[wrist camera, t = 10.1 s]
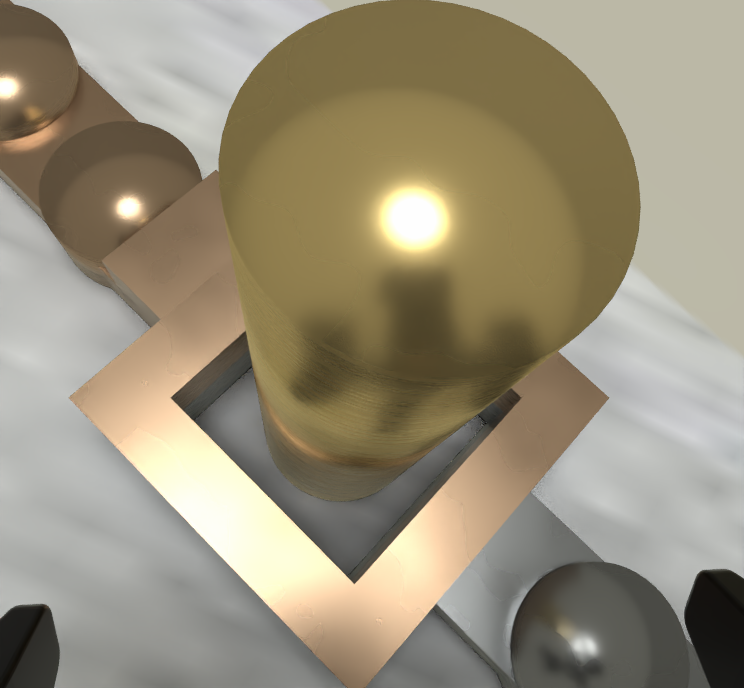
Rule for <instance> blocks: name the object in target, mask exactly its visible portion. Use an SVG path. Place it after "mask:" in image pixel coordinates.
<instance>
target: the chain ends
mask: <svg viewBox="0 0 744 688" xmlns="http://www.w3.org/2000/svg"><path fill="white" fill-rule="evenodd" d="M0 177H1V178H2V179H3V180H4V181H5V182H6V183H7V184H8V185H9V186H10V187H11V188H12V189H13V190H14V191H15V192H16V193H17V194H18V195H19V196H20V197H21V198H22V199H23V200H24V201H25V202H26V203H27V204H28V205H29V206H30V207H31V208H32V209H33V210H34V211H35V212H36V213H37V214H38V215H39V216H40V217H41V218H42V219H43V220H44V221H45V222H46V223H47V225H48V227H49V228H50V230H51V231H52V233H53V234H54V235H55V237H56V238H57V240H58V241H59V242H60V244H61V245H62V246H63V248H64V249H65V251H66V252H67V253H68V255H69V256H70V258H71V259H72V260H73V262H74V263H75V264H76V266H77V267H78V268H79V269H80V270H81V271H82V272H83V273H84V274H85V275H87V276H88V277H89V278H91V279H92V280H94V281H95V282H97V283H99V284H101V285H104V286H106V287H109V288H112V289H113V290H114V291H115V292H116V293H117V294H118V295H119V296H120V297H121V298H122V299H123V300H124V301H125V302H126V303H127V304H128V305H129V306H130V307H131V308H132V309H133V310H134V311H135V312H136V313H137V314H138V315H139V316H140V317H141V318H142V319H143V320H144V321H145V322H146V323H147V324H148V325H149V326H150V327H151V328H150V329H149V330H148V331H147V332H145V333H144V334H143V335H142V336H141V337H140V338H138V339H137V340H136V341H135V342H134V343H133V344H131V345H130V346H129V347H128V348H127V349H125V350H124V351H123V352H122V353H121V354H120V355H118V356H117V357H116V358H115V359H114V360H112V361H111V362H110V363H109V364H108V365H107V366H105V367H104V368H103V369H102V370H101V371H100V372H98V373H97V374H96V375H95V376H94V377H92V378H91V379H90V380H89V381H88V382H87V383H85V384H84V385H83V386H82V387H81V388H79V389H78V390H77V391H76V392H75V393H74V394H72V395H71V396H70V397H69V399H70V400H71V401H72V402H73V403H74V404H75V405H76V406H77V407H78V408H79V409H80V410H81V411H82V412H83V413H84V414H85V415H86V416H87V417H88V418H89V419H90V420H91V422H92V423H93V424H94V425H95V426H96V427H97V428H98V429H99V430H100V431H101V432H102V433H103V434H104V435H105V436H106V437H107V438H108V439H109V440H110V441H111V442H112V443H113V444H114V445H115V447H116V448H117V449H118V450H119V451H120V452H121V453H122V454H123V455H124V456H125V457H126V458H127V459H128V460H129V461H130V462H131V463H132V464H133V465H134V466H135V467H136V468H137V469H138V470H139V472H140V473H141V474H142V475H143V476H144V477H145V478H146V479H147V480H148V481H149V482H150V483H151V484H152V485H153V486H154V487H155V488H156V489H157V490H158V491H159V492H160V493H161V494H162V495H163V497H164V498H165V499H166V500H167V501H168V502H169V503H170V504H171V505H172V506H173V507H174V508H175V509H176V510H177V511H178V512H179V513H180V514H181V515H182V516H183V517H184V518H185V519H186V521H187V522H188V523H189V524H190V525H191V526H192V527H193V528H194V529H195V530H196V531H197V532H198V533H199V534H200V535H201V536H202V537H203V538H204V539H205V540H206V541H207V542H208V543H209V544H210V546H211V547H212V548H213V549H214V550H215V551H216V552H217V553H218V554H219V555H220V556H221V557H222V558H223V559H224V560H225V561H226V562H227V563H228V564H229V565H230V566H231V567H232V568H233V569H234V571H235V572H236V573H237V574H238V575H239V576H240V577H241V578H242V579H243V580H244V581H245V582H246V583H247V584H248V585H249V586H250V587H251V588H252V589H253V590H254V591H255V592H256V593H257V594H258V596H259V597H260V598H261V599H262V600H263V601H264V602H265V603H266V604H267V605H268V606H269V607H270V608H271V609H272V610H273V611H274V612H275V613H276V614H277V615H278V616H279V617H280V618H281V619H282V621H283V622H284V623H285V624H286V625H287V626H288V627H289V628H290V629H291V630H292V631H293V632H294V633H295V634H296V635H297V636H298V637H299V638H300V639H301V640H302V641H303V642H304V643H305V644H306V646H307V647H308V648H309V649H310V650H311V651H312V652H313V653H314V654H315V655H316V656H317V657H318V658H319V659H320V660H321V661H322V662H323V663H324V664H325V665H326V666H327V667H328V668H329V670H330V671H331V672H332V673H333V674H334V675H335V676H336V677H337V678H338V679H339V680H340V681H341V682H342V683H343V684H344V685H345V686H346V687H347V688H365V687H366V686H367V685H368V684H369V682H370V681H371V680H372V679H373V678H374V677H375V675H376V674H377V673H378V672H379V671H380V669H381V668H382V667H383V666H384V665H385V663H386V662H387V661H388V660H389V659H390V658H391V656H392V655H393V654H394V653H395V652H396V650H397V649H398V648H399V647H400V646H401V644H402V643H403V642H404V641H405V640H406V639H407V637H408V636H409V635H410V634H411V633H412V631H413V630H414V629H415V628H416V627H417V626H418V624H419V623H420V622H421V621H422V620H423V618H424V617H425V616H426V615H427V614H428V612H429V611H430V610H431V609H433V610H434V611H435V612H436V613H437V614H438V615H439V616H440V617H441V618H442V619H443V620H444V621H445V622H446V623H447V624H448V625H449V626H450V627H451V628H452V629H453V630H454V631H455V632H456V633H457V634H458V635H459V636H460V637H461V638H463V639H464V640H465V641H466V642H467V643H468V644H469V645H470V646H471V647H472V648H473V649H474V650H475V651H476V652H477V653H478V654H479V655H480V656H481V657H482V658H483V659H484V660H485V661H486V662H487V663H488V664H489V665H490V666H491V667H492V668H493V669H494V670H495V671H496V672H497V674H498V677H499V679H500V682H501V684H502V686H503V688H710V686H709V684H708V681H707V679H706V676H705V673H704V671H703V668H702V666H701V663H700V661H699V658H698V656H697V653H696V651H695V648H694V646H693V645H692V644H691V643H690V642H689V641H688V640H686V638H685V635H684V632H683V629H682V626H681V624H680V622H679V620H678V617H677V615H676V614H675V612H674V610H673V609H672V607H671V605H670V604H669V603H668V601H667V600H666V599H665V597H664V596H663V595H662V594H661V593H660V592H659V590H658V589H657V588H656V587H655V586H654V585H652V584H651V583H650V582H649V581H648V580H646V579H645V578H643V577H642V576H640V575H639V574H637V573H636V572H634V571H632V570H630V569H627V568H625V567H622V566H619V565H616V564H612V563H606V562H604V561H603V560H602V559H601V558H600V557H599V556H598V555H597V554H595V553H594V552H593V551H592V550H591V549H590V548H589V547H588V546H587V545H586V544H585V543H584V542H583V541H582V540H581V539H580V538H579V537H577V536H576V535H575V534H574V533H573V532H572V531H571V530H570V529H569V528H568V527H567V526H566V525H565V524H564V523H563V522H562V521H561V520H559V519H558V518H557V517H556V516H555V515H554V514H553V513H552V512H551V511H550V510H549V509H548V508H547V507H546V506H545V505H544V504H543V503H541V502H540V501H539V500H538V499H537V498H536V497H535V496H534V495H533V494H532V493H531V492H530V491H531V490H532V489H533V488H534V487H535V486H536V484H537V483H538V482H539V481H540V480H541V478H542V477H543V476H544V475H545V474H546V472H547V471H548V470H549V469H550V468H551V467H552V465H553V464H554V463H555V462H556V461H557V459H558V458H559V457H560V456H561V455H562V453H563V452H564V451H565V450H566V449H567V448H568V446H569V445H570V444H571V443H572V442H573V440H574V439H575V438H576V437H577V436H578V434H579V433H580V432H581V431H582V430H583V429H584V427H585V426H586V425H587V424H588V423H589V421H590V420H591V419H592V418H593V417H594V415H595V414H596V413H597V412H598V411H599V410H600V408H601V407H602V406H603V405H604V404H605V402H606V401H607V400H608V399H609V397H608V396H607V395H606V394H604V393H603V392H602V391H601V390H600V389H599V388H598V387H597V386H596V385H594V384H593V383H592V382H591V381H590V380H589V379H588V378H587V377H586V376H585V375H583V374H582V373H581V372H580V371H579V370H578V369H577V368H576V367H575V366H573V365H572V364H571V363H570V362H569V361H568V360H567V359H566V358H565V357H563V356H562V355H561V354H560V353H559V352H558V351H557V352H556V353H555V354H554V355H552V356H551V357H550V358H548V359H547V360H546V361H545V362H543V363H542V364H541V365H540V366H538V367H537V368H536V369H534V370H533V371H532V372H531V373H529V374H528V375H527V376H526V377H524V378H523V379H522V380H520V381H519V382H518V383H517V384H515V385H514V386H513V387H512V388H510V389H509V390H508V391H506V392H505V393H504V394H503V395H501V396H500V397H499V398H498V399H496V400H495V401H494V402H493V403H491V404H490V405H489V406H487V407H486V408H485V409H484V410H482V411H481V412H480V413H479V414H478V415H479V416H480V417H481V418H482V419H483V420H484V421H485V422H486V424H485V425H484V426H483V427H482V428H481V430H480V431H479V432H478V433H477V434H476V435H475V436H474V437H473V438H472V440H471V441H470V442H469V443H468V444H467V445H466V446H465V447H464V448H463V449H462V451H461V452H460V453H459V454H458V455H457V456H456V457H455V458H454V459H453V461H452V462H451V463H450V464H449V465H448V466H447V467H446V468H445V469H444V470H443V472H442V473H441V474H440V475H439V476H438V477H437V478H436V479H435V480H434V482H433V483H432V484H431V485H430V486H429V487H428V488H427V489H426V490H425V491H424V493H423V494H422V495H421V496H420V497H419V498H418V499H417V500H416V501H415V503H414V504H413V505H412V506H411V507H410V508H409V509H408V510H407V511H406V512H405V514H404V515H403V516H402V517H401V518H400V519H399V520H398V521H397V522H396V524H395V525H394V526H393V527H392V528H391V529H390V530H389V531H388V532H387V533H386V535H385V536H384V537H383V538H382V539H381V540H380V541H379V542H378V543H377V545H376V546H375V547H374V548H373V549H372V550H371V551H370V552H369V553H368V554H367V556H366V557H365V558H364V559H363V560H362V561H361V562H360V563H359V564H358V566H357V567H356V568H355V569H354V570H353V571H352V572H351V573H350V574H349V575H348V577H347V576H346V575H345V574H344V573H343V572H342V571H341V570H340V569H339V568H338V567H337V566H336V565H335V564H334V563H333V562H332V561H331V560H330V559H329V558H328V557H327V556H326V555H325V554H324V553H323V552H322V551H321V550H320V549H319V548H318V547H317V546H316V545H315V544H314V543H313V542H312V541H311V540H310V539H309V538H308V537H307V536H306V535H305V534H304V533H303V532H302V531H301V530H300V529H299V528H298V527H297V526H296V525H295V523H294V522H293V521H292V520H291V519H290V518H289V517H288V516H287V515H286V514H285V513H284V512H283V511H282V510H281V509H280V508H279V507H278V506H277V505H276V504H275V503H274V502H273V501H272V500H271V499H270V498H269V497H268V496H267V495H266V494H265V493H264V492H263V491H262V490H261V489H260V488H259V487H258V486H257V485H256V484H255V483H254V482H253V481H252V480H251V479H250V478H249V477H248V476H247V475H246V474H245V473H244V472H243V471H242V470H241V469H240V468H239V467H238V466H237V465H236V464H235V463H234V462H233V461H232V460H231V459H230V458H229V457H228V456H227V455H226V454H225V453H224V452H223V451H222V450H221V449H220V448H219V447H218V446H217V445H216V443H215V442H214V441H213V440H212V439H211V438H210V437H209V436H208V435H207V434H206V433H205V432H204V431H203V430H202V429H201V428H200V427H199V426H198V425H197V424H196V423H195V422H194V421H193V420H194V419H195V418H196V417H197V416H198V415H200V414H201V413H202V412H203V411H204V410H205V409H206V408H207V407H208V406H209V405H210V404H212V403H213V402H214V401H215V400H216V399H217V398H218V397H219V396H220V395H221V394H222V393H223V392H225V391H226V390H227V389H228V388H229V387H230V386H231V385H232V384H233V383H234V382H235V381H236V380H238V379H239V378H240V377H241V376H242V375H243V374H244V373H245V372H246V371H247V370H248V369H250V368H251V367H252V361H251V356H250V351H249V345H248V340H247V335H246V330H245V324H244V319H243V314H242V308H241V303H240V298H239V293H238V287H237V282H236V277H235V271H234V266H233V261H232V256H231V250H230V245H229V240H228V234H227V229H226V224H225V219H224V213H223V207H222V201H221V195H220V189H219V172H218V171H217V170H215V171H214V172H213V173H211V174H210V175H209V176H208V177H206V178H205V179H204V180H203V181H202V177H201V173H200V170H199V167H198V164H197V162H196V160H195V158H194V157H193V155H192V154H191V152H190V151H189V150H188V148H187V147H186V146H185V145H184V144H183V143H182V142H181V141H179V140H178V139H177V138H176V137H175V136H173V135H171V134H170V133H168V132H167V131H164V130H162V129H160V128H158V127H155V126H152V125H149V124H145V123H140V122H138V121H137V120H136V119H135V118H134V117H133V116H132V115H131V114H130V113H129V112H128V111H127V110H125V109H124V108H123V107H122V106H121V105H120V104H119V103H118V102H117V101H116V100H115V99H114V98H113V97H112V96H111V95H110V94H109V93H107V92H106V91H105V90H104V89H103V88H102V87H101V86H100V85H99V84H98V83H97V82H96V81H95V80H94V79H93V78H92V77H91V76H89V75H88V74H87V73H86V72H85V71H84V70H83V69H82V68H81V67H80V66H79V64H78V62H77V60H76V57H75V55H74V53H73V50H72V48H71V45H70V43H69V41H68V39H67V37H66V36H65V34H64V33H63V31H62V30H61V29H60V28H59V27H58V26H57V25H56V24H55V23H54V22H53V21H51V20H50V19H49V18H47V17H46V16H44V15H42V14H41V13H39V12H36V11H34V10H32V9H29V8H26V7H22V6H18V5H14V4H13V3H12V2H11V1H10V0H0Z"/></svg>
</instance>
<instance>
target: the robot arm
mask: <svg viewBox="0 0 744 688" xmlns="http://www.w3.org/2000/svg"><path fill="white" fill-rule="evenodd" d="M684 619H685V624H686V628H687V631H688V633H689V636H690V638H691V641H692V643H693V646H694V648H695V651H696V653H697V656H698V658H699V661H700V663H701V666H702V668H703V671H704V673H705V676H706V679H707V681H708V684H709V686H710V688H744V578H742V577H741V576H739V575H738V574H736V573H734V572H733V571H731V570H727V569H712V570H703V571H701V572H699V573H698V574H697V576H696V578H695V581H694V584H693V587H692V590H691V593H690V595H689V598H688V601H687V604H686V607H685V612H684ZM59 659H60V649H59V643H58V639H57V634H56V630H55V625H54V621H53V617H52V612H51V610H50V608H49V606H47V605H45V604H32V605H18V606H15V607H13V608H12V609H10V610H9V611H8V612H7V613H6V614H5V615H4V616H3V617H2V618H0V688H54V685H55V681H56V676H57V671H58V666H59Z"/></svg>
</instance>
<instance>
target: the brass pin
mask: <svg viewBox="0 0 744 688" xmlns="http://www.w3.org/2000/svg"><path fill="white" fill-rule="evenodd" d="M219 189H220V195H221V201H222V207H223V213H224V219H225V224H226V229H227V234H228V240H229V245H230V250H231V256H232V261H233V266H234V271H235V277H236V282H237V287H238V293H239V298H240V303H241V308H242V314H243V319H244V324H245V330H246V335H247V340H248V345H249V351H250V356H251V361H252V366H253V372H254V377H255V382H256V388H257V393H258V398H259V403H260V409H261V414H262V419H263V425H264V430H265V435H266V440H267V445H268V448H269V451H270V454H271V456H272V458H273V460H274V462H275V464H276V466H277V467H278V469H279V470H280V471H281V473H282V474H283V475H284V476H285V477H286V478H287V479H288V480H289V481H290V482H291V483H292V484H293V485H294V486H296V487H297V488H299V489H300V490H302V491H304V492H306V493H308V494H310V495H312V496H315V497H317V498H320V499H325V500H330V501H352V500H356V499H361V498H364V497H367V496H370V495H372V494H374V493H376V492H378V491H380V490H381V489H382V488H384V487H385V486H387V485H388V484H389V483H391V482H392V481H393V480H395V479H396V478H397V477H398V476H400V475H401V474H402V473H403V472H405V471H406V470H407V469H409V468H410V467H411V466H412V465H414V464H415V463H416V462H417V461H419V460H420V459H421V458H423V457H424V456H425V455H426V454H428V453H429V452H430V451H431V450H433V449H434V448H435V447H437V446H438V445H439V444H440V443H442V442H443V441H444V440H445V439H447V438H448V437H449V436H451V435H452V434H453V433H454V432H456V431H457V430H458V429H459V428H461V427H462V426H463V425H465V424H466V423H467V422H468V421H470V420H471V419H472V418H473V417H475V416H476V415H477V414H479V413H480V412H481V411H482V410H484V409H485V408H486V407H487V406H489V405H490V404H491V403H493V402H494V401H495V400H496V399H498V398H499V397H500V396H501V395H503V394H504V393H505V392H506V391H508V390H509V389H510V388H512V387H513V386H514V385H515V384H517V383H518V382H519V381H520V380H522V379H523V378H524V377H526V376H527V375H528V374H529V373H531V372H532V371H533V370H534V369H536V368H537V367H538V366H540V365H541V364H542V363H543V362H545V361H546V360H547V359H548V358H550V357H551V356H552V355H554V354H555V353H556V352H557V351H559V350H560V349H561V348H562V347H564V346H565V345H566V344H568V343H569V342H570V341H571V340H573V339H574V338H575V337H576V336H578V335H579V334H580V333H581V332H582V331H583V330H584V329H585V328H586V327H587V326H589V325H590V324H591V323H592V322H593V321H594V320H595V319H596V318H597V317H598V316H599V314H600V313H601V312H602V311H603V309H604V308H605V307H606V306H607V304H608V303H609V302H610V301H611V299H612V298H613V296H614V295H615V293H616V291H617V289H618V288H619V286H620V284H621V282H622V281H623V279H624V277H625V275H626V272H627V270H628V267H629V265H630V262H631V259H632V257H633V254H634V250H635V245H636V241H637V236H638V231H639V221H640V193H639V181H638V177H637V172H636V167H635V162H634V158H633V156H632V153H631V150H630V147H629V144H628V141H627V139H626V136H625V134H624V132H623V130H622V128H621V126H620V124H619V122H618V120H617V118H616V116H615V114H614V112H613V111H612V110H611V108H610V106H609V105H608V104H607V102H606V100H605V99H604V97H603V96H602V95H601V93H600V92H599V91H598V89H597V88H596V87H595V86H594V85H593V84H592V82H591V81H590V80H589V79H588V78H587V77H586V75H585V74H584V73H583V72H582V71H581V70H580V69H579V68H577V67H576V66H575V65H574V64H573V63H572V62H571V61H570V60H569V59H568V58H567V57H566V56H564V55H563V54H562V53H560V52H559V51H558V50H556V49H555V48H554V47H553V46H551V45H550V44H549V43H547V42H546V41H544V40H542V39H541V38H539V37H537V36H536V35H534V34H533V33H531V32H529V31H528V30H526V29H524V28H522V27H520V26H518V25H516V24H514V23H512V22H510V21H507V20H505V19H503V18H501V17H498V16H495V15H492V14H489V13H486V12H484V11H481V10H478V9H474V8H470V7H466V6H462V5H458V4H453V3H446V2H439V1H431V0H390V1H378V2H373V3H368V4H363V5H358V6H354V7H350V8H347V9H344V10H341V11H337V12H334V13H331V14H329V15H327V16H324V17H322V18H320V19H318V20H316V21H314V22H311V23H309V24H307V25H306V26H304V27H303V28H301V29H299V30H298V31H296V32H295V33H293V34H291V35H290V36H288V37H287V38H286V39H285V40H283V41H282V42H281V43H280V44H278V45H277V46H276V47H275V48H274V49H272V50H271V51H270V52H269V53H268V54H267V55H266V56H265V57H264V59H263V60H262V61H261V62H260V63H259V64H258V65H257V66H256V67H255V68H254V69H253V71H252V72H251V74H250V75H249V77H248V78H247V80H246V81H245V83H244V84H243V86H242V87H241V88H240V90H239V92H238V94H237V96H236V99H235V101H234V103H233V105H232V107H231V109H230V111H229V114H228V117H227V121H226V124H225V127H224V130H223V134H222V140H221V147H220V154H219Z"/></svg>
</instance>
